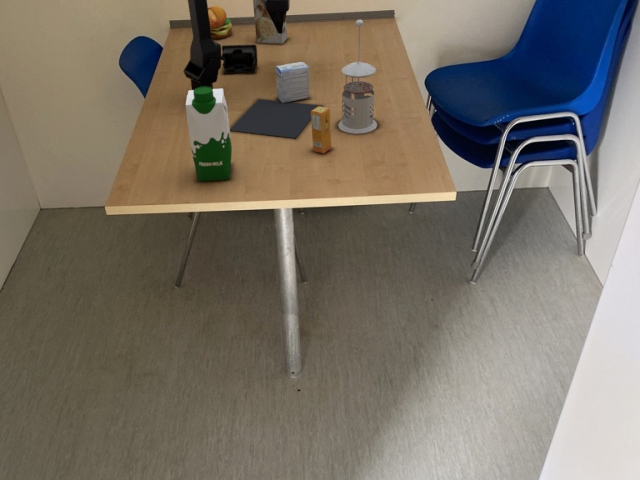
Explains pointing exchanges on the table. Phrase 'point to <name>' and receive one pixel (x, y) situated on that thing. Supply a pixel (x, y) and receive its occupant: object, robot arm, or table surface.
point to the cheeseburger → (219, 22)
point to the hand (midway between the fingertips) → (281, 27)
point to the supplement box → (321, 129)
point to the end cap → (239, 59)
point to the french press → (358, 97)
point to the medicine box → (292, 82)
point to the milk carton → (209, 133)
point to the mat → (275, 118)
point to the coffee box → (267, 25)
